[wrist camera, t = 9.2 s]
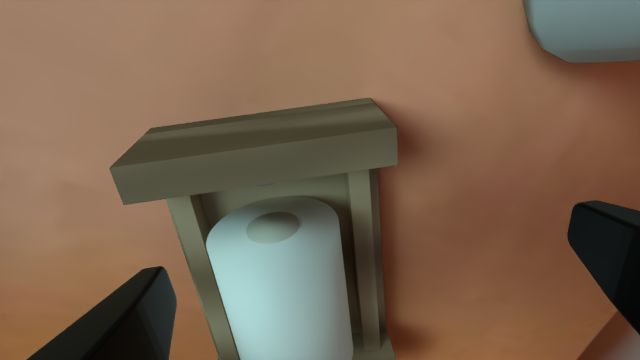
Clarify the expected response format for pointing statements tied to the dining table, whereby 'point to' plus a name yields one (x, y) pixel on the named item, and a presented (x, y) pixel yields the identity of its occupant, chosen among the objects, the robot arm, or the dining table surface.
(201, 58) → the dining table surface
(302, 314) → the cylinder
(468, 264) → the dining table surface
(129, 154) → the cradle
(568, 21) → the salt shaker
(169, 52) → the dining table surface
